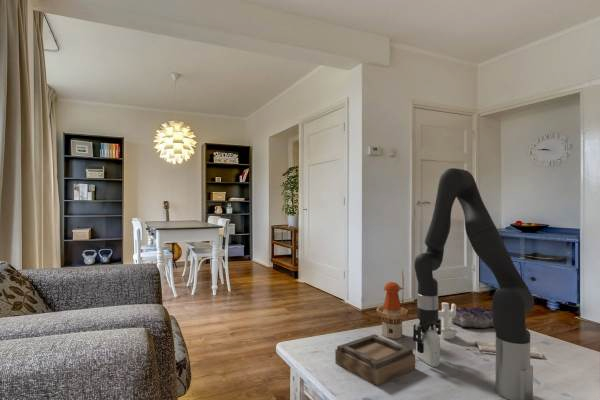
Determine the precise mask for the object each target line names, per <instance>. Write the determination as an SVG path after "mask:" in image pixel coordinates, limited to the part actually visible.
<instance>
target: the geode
mask: <svg viewBox="0 0 600 400" xmlns="http://www.w3.org/2000/svg"><path fill="white" fill-rule="evenodd" d="M451 323H452V324H455V325H458V326H460V327H462V328H475V329H482V330H485V329H488V328H494V325H493V311H492V308H491V309H487V308H485V307H482V308H481V307H479V306H477V307H471V308H466V307H463V308H462V307H458V308H456V315H455V316H454V317H451Z"/></svg>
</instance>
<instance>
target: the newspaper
mask: <svg viewBox="0 0 600 400" xmlns="http://www.w3.org/2000/svg"><path fill="white" fill-rule="evenodd" d="M474 342H475V343H476V344H477V346H478V349H479V350H478V351H479V352H482V353H483V354H491V355H492V354H493V355H496V342H488V341H480V340H479V341H478V340H475V341H474ZM532 358H535V359H538V358H539V359H543V358H544V356H543V354H542V353H541V351H540V350H539V349H538V348H536V347H534V346H530V359H532Z"/></svg>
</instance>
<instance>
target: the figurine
mask: <svg viewBox="0 0 600 400" xmlns="http://www.w3.org/2000/svg"><path fill="white" fill-rule="evenodd" d="M456 309H457V304H455V303H451V308H450V303H449V302H441V310H438V319H440V318H441V319H440V320H441V335H438V336H439V338H440V339H442V340H453V339H454V337H455V336H456V335H457V333H458V332H459V331H458V330H456V329H455V328H453V327H452V326H450V325H449V323H450V322H449V320H450V317H451V318H452V317H454V316H455V315H456ZM436 329H437V331H438V328H436Z"/></svg>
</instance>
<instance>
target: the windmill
mask: <svg viewBox="0 0 600 400" xmlns="http://www.w3.org/2000/svg"><path fill="white" fill-rule="evenodd" d="M401 272H402V274H401V276H402V277H401V278H402V287H401V286H400V285H399V284H398V283H397V282H394V281H389V282H386V284H385V285H384V288H383V291H385V292H386V293H385V298H384V304H383V305H380V306H378V307H377V308H376V313H377V315H378V316H380V318H381V336H383V337H384V338H387V339H393V340H397V339H398V340H399V339H402V338H404V336H405V335H404V334H403V320H404V319H406V318H407V314H408V312H409V310H408V309H406V308H404V307H403V306H401V305H402V304H401V303H404V285H405V277H404V269H403V268H402V271H401ZM401 290H402V291H401ZM400 291H401V301H400V296H399V292H400Z"/></svg>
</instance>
